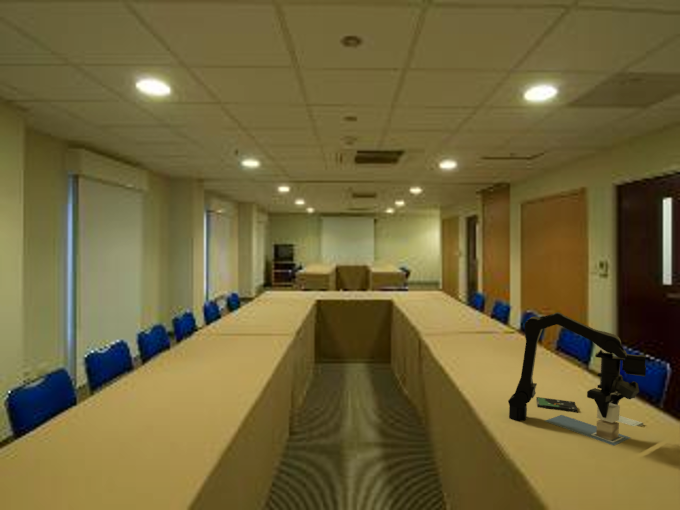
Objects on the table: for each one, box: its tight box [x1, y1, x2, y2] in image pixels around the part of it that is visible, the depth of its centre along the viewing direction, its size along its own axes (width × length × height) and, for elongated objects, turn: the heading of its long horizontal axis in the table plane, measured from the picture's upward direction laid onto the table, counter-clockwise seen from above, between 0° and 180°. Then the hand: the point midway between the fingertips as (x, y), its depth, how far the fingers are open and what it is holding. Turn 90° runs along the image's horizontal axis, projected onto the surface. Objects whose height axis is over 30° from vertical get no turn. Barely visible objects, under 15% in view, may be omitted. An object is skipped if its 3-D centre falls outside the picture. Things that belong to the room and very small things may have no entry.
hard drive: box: [617, 415, 644, 427], centre depth 182 cm, size 2×8×12 cm
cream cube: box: [596, 403, 621, 423], centre depth 165 cm, size 5×5×5 cm
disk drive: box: [536, 396, 579, 413], centre depth 195 cm, size 10×3×15 cm
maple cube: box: [596, 419, 620, 440], centre depth 165 cm, size 5×5×5 cm
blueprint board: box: [544, 414, 632, 447], centre depth 171 cm, size 12×25×1 cm, turn 35°
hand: (608, 416), depth 165 cm, fingers closed on cream cube, 5 cm apart
